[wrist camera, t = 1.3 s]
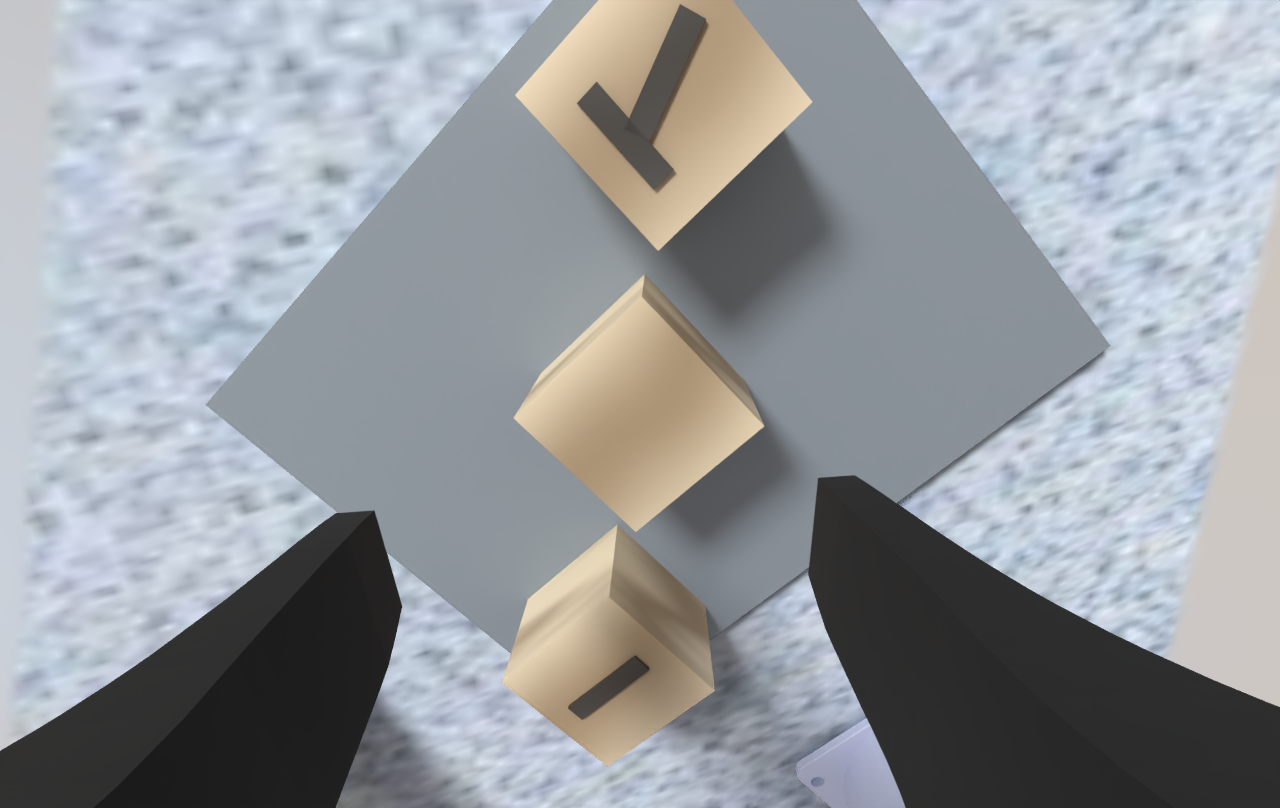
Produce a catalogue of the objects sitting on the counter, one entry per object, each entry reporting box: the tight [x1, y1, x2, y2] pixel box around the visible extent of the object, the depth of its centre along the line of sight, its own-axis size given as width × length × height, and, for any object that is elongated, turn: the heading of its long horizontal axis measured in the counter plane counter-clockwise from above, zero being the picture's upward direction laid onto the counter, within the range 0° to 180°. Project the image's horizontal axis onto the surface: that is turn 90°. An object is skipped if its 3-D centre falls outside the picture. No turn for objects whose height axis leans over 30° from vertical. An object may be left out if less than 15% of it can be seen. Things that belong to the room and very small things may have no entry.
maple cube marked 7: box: [515, 0, 812, 251], centre depth 15 cm, size 4×4×4 cm
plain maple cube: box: [514, 274, 764, 532], centre depth 18 cm, size 4×4×4 cm
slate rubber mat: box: [206, 0, 1110, 653], centre depth 20 cm, size 18×22×1 cm
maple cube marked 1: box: [502, 524, 715, 767], centre depth 21 cm, size 4×4×4 cm
